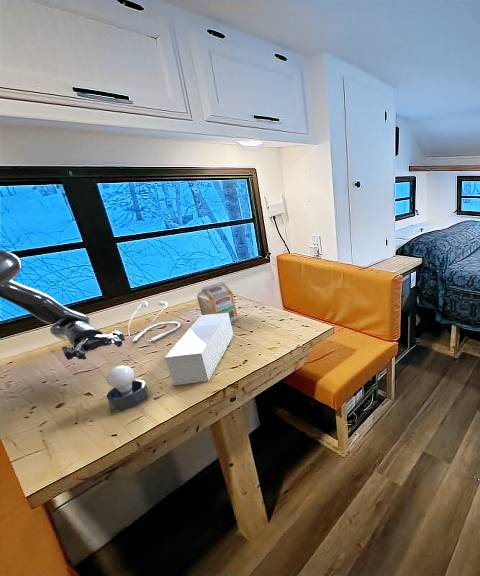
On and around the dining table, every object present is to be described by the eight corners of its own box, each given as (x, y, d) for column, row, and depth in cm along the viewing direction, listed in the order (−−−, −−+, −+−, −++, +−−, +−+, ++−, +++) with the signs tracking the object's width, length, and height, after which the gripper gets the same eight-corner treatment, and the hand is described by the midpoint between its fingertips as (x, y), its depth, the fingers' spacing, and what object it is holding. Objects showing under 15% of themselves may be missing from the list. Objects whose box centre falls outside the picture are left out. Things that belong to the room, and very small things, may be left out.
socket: (134, 410, 89) (130, 399, 88) (102, 411, 89) (98, 400, 88) (155, 389, 98) (152, 379, 97) (126, 390, 98) (122, 380, 96)
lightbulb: (111, 401, 92) (98, 370, 88) (134, 388, 97) (123, 359, 93) (122, 407, 89) (110, 376, 85) (146, 394, 95) (135, 364, 91)
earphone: (116, 338, 122) (135, 298, 131) (146, 351, 137) (161, 314, 146) (149, 338, 122) (166, 298, 131) (175, 351, 136) (189, 314, 145)
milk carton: (216, 329, 136) (207, 289, 130) (204, 324, 142) (194, 285, 135) (238, 320, 145) (230, 282, 138) (225, 315, 150) (217, 279, 144)
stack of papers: (206, 338, 129) (200, 315, 125) (233, 335, 131) (228, 312, 127) (173, 385, 100) (164, 357, 96) (208, 380, 101) (201, 353, 98)
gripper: (51, 335, 96) (66, 350, 87) (108, 319, 107) (126, 330, 99) (60, 356, 98) (75, 372, 90) (115, 337, 110) (133, 350, 101)
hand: (102, 350), depth 94 cm, fingers open, 8 cm apart
